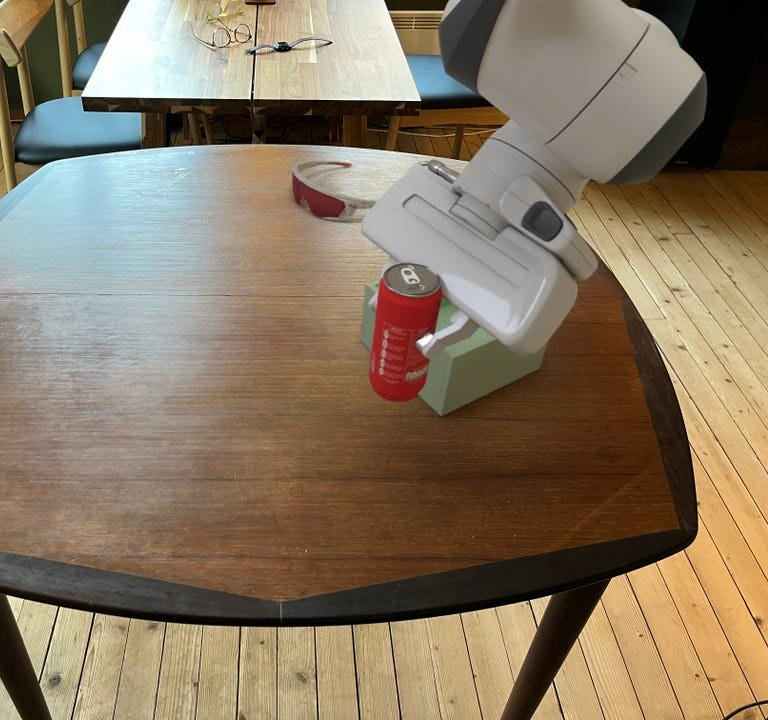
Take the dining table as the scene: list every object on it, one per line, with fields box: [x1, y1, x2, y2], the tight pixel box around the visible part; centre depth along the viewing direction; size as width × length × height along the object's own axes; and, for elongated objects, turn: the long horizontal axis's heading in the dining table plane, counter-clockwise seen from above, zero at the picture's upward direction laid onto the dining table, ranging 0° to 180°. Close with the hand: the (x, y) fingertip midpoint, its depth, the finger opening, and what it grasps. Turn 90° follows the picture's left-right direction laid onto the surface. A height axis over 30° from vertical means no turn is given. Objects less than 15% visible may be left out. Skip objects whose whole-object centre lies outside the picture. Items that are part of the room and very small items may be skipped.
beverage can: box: [368, 262, 442, 403], centre depth 63 cm, size 5×5×12 cm
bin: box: [359, 278, 549, 417], centre depth 88 cm, size 16×16×9 cm
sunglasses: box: [291, 160, 378, 221], centre depth 119 cm, size 17×17×5 cm
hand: (398, 333), depth 63 cm, fingers closed on beverage can, 5 cm apart
